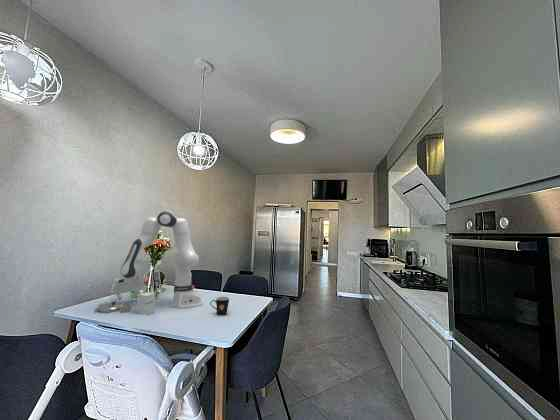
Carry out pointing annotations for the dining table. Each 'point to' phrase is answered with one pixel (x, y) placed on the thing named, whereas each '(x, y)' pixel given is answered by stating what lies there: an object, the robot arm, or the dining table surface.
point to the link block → (125, 309)
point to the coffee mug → (221, 305)
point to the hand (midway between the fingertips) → (127, 298)
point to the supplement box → (145, 303)
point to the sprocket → (110, 307)
